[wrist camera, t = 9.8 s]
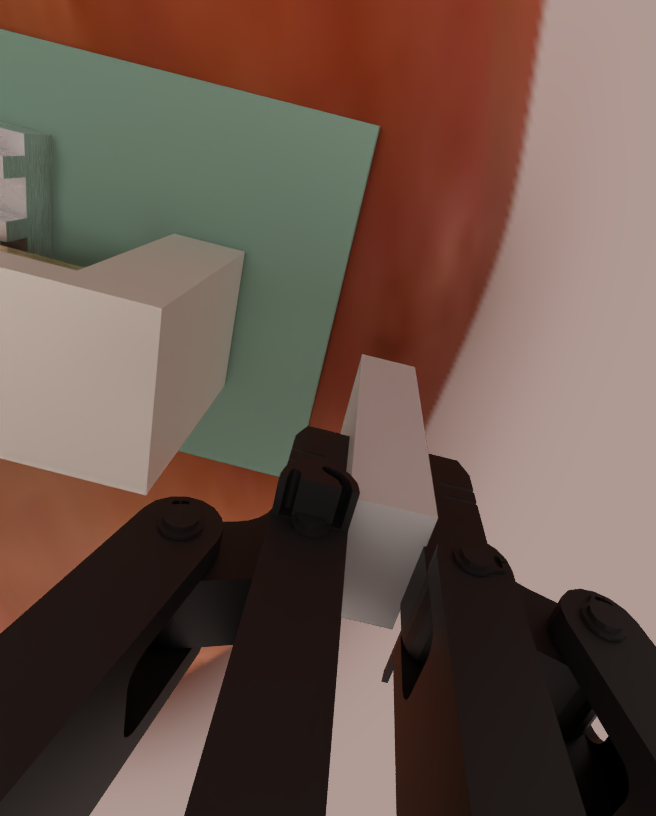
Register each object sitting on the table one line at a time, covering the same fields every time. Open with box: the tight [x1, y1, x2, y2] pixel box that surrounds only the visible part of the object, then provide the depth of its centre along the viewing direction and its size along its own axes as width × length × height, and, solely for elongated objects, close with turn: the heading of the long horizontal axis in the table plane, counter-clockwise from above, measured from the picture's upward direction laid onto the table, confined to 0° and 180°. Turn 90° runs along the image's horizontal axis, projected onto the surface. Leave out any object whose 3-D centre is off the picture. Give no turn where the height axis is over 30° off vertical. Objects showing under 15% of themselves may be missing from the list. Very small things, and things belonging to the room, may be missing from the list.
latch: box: [0, 233, 245, 495], centre depth 15 cm, size 5×5×7 cm
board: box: [0, 29, 380, 477], centre depth 19 cm, size 24×13×1 cm, turn 77°
